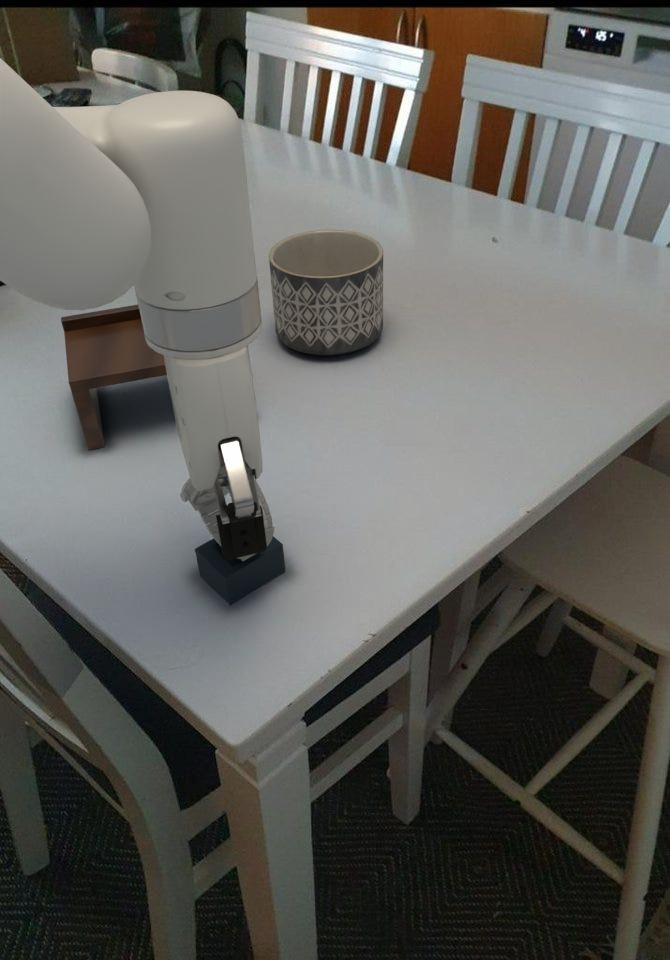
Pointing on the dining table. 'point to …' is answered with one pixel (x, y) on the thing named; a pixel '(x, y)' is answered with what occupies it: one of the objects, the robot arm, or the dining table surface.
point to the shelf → (105, 360)
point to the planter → (327, 291)
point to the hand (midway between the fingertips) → (232, 513)
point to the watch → (237, 573)
